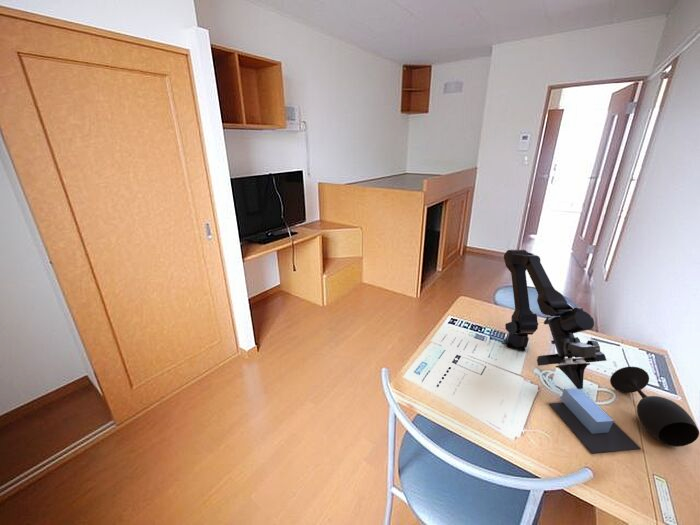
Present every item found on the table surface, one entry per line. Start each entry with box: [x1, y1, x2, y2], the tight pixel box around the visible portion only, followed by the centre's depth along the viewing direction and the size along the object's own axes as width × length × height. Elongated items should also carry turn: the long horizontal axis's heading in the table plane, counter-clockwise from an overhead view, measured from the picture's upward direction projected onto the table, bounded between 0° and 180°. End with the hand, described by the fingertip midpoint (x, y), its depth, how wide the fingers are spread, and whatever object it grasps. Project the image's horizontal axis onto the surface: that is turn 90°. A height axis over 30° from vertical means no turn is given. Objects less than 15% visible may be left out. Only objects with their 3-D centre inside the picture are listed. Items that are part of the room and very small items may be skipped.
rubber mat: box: [548, 401, 641, 454], centre depth 87 cm, size 16×14×1 cm
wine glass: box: [609, 366, 700, 448], centre depth 88 cm, size 10×10×20 cm
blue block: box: [560, 387, 614, 434], centre depth 89 cm, size 4×5×12 cm
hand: (580, 388), depth 91 cm, fingers closed
